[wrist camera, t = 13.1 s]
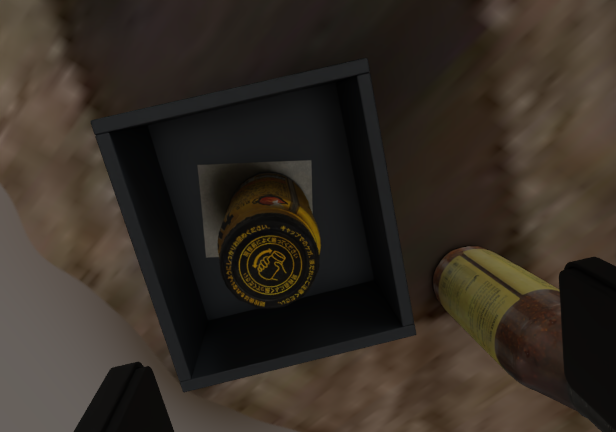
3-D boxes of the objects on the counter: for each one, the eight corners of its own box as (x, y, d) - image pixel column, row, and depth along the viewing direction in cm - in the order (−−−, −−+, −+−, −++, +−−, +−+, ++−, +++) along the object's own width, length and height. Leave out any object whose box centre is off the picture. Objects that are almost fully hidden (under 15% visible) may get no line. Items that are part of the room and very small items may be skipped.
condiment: (313, 250, 35) (335, 322, 24) (206, 256, 35) (175, 333, 23) (311, 159, 34) (333, 189, 22) (197, 164, 33) (159, 196, 21)
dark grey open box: (136, 116, 32) (89, 120, 24) (342, 69, 33) (367, 57, 24) (202, 326, 37) (183, 392, 28) (383, 282, 37) (416, 335, 29)
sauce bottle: (444, 321, 39) (616, 532, 20) (418, 261, 37) (578, 427, 18) (512, 289, 39) (753, 470, 19) (489, 227, 37) (726, 359, 18)
